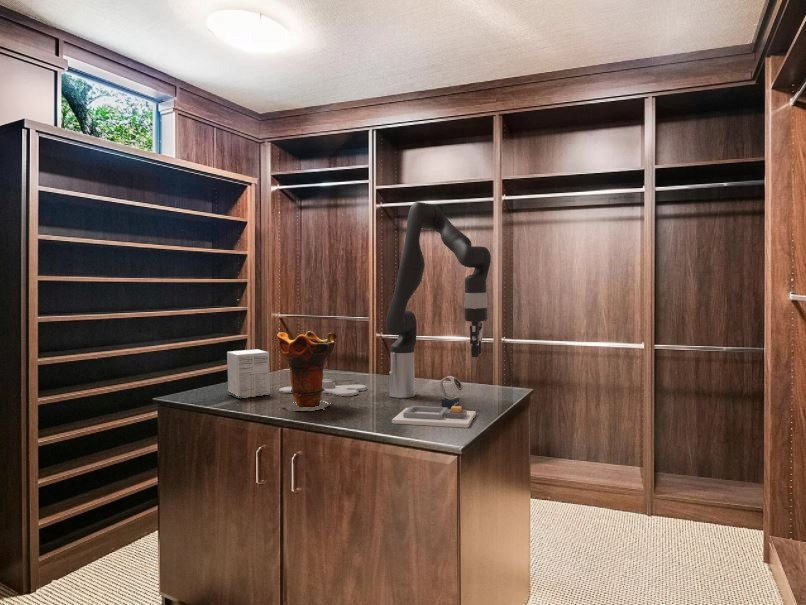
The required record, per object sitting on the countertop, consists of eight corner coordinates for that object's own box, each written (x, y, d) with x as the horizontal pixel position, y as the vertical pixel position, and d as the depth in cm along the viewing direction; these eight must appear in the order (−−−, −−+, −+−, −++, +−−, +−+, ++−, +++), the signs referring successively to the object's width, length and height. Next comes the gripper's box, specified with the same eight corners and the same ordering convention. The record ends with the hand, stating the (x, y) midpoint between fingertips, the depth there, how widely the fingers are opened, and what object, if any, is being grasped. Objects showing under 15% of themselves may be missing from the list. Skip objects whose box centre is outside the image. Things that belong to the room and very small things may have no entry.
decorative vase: (348, 399, 211) (345, 325, 208) (319, 417, 189) (315, 335, 187) (300, 396, 218) (296, 325, 215) (266, 413, 196) (261, 334, 194)
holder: (353, 398, 217) (352, 385, 217) (274, 394, 227) (274, 382, 226) (370, 389, 235) (369, 377, 235) (296, 386, 245) (296, 374, 245)
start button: (450, 414, 178) (450, 407, 178) (452, 412, 181) (452, 405, 181) (460, 414, 178) (460, 408, 177) (461, 412, 180) (461, 406, 180)
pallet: (392, 423, 176) (391, 414, 176) (406, 411, 193) (406, 403, 193) (467, 427, 170) (467, 418, 170) (475, 414, 186) (475, 406, 186)
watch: (458, 410, 193) (457, 378, 192) (437, 408, 197) (436, 377, 196) (464, 407, 198) (464, 376, 197) (443, 405, 202) (443, 374, 201)
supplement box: (270, 395, 223) (269, 351, 222) (237, 400, 215) (236, 354, 214) (259, 390, 234) (258, 348, 233) (227, 394, 226) (226, 351, 225)
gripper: (467, 305, 193) (467, 352, 194) (461, 307, 180) (462, 358, 180) (489, 305, 192) (489, 352, 192) (485, 307, 178) (485, 358, 178)
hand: (476, 355), depth 186 cm, fingers open, 8 cm apart
